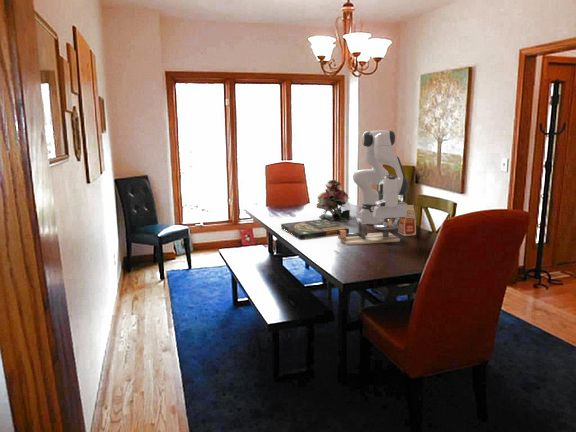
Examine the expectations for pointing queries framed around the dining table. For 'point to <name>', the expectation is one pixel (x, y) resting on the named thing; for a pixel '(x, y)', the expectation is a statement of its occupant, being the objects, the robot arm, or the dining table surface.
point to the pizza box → (313, 228)
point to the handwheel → (388, 225)
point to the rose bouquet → (333, 202)
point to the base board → (370, 237)
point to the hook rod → (348, 234)
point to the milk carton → (408, 222)
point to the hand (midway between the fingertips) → (389, 224)
